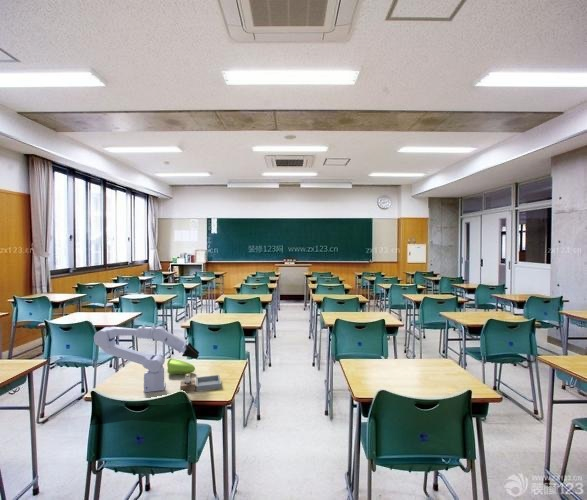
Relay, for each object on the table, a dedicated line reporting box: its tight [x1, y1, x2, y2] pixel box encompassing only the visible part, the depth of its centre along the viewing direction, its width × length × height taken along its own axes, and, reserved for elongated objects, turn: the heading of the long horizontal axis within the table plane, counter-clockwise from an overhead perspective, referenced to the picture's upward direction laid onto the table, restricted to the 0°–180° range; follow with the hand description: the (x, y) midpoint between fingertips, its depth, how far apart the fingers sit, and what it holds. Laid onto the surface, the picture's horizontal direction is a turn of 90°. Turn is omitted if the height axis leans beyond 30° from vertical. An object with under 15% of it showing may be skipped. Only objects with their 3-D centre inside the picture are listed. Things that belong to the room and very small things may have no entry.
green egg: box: [167, 358, 196, 375], centre depth 189 cm, size 8×12×20 cm
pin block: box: [179, 378, 196, 392], centre depth 168 cm, size 7×7×3 cm
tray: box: [195, 374, 222, 392], centre depth 172 cm, size 12×12×2 cm
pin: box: [184, 373, 191, 384], centre depth 168 cm, size 2×2×7 cm
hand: (198, 355), depth 172 cm, fingers open, 7 cm apart
